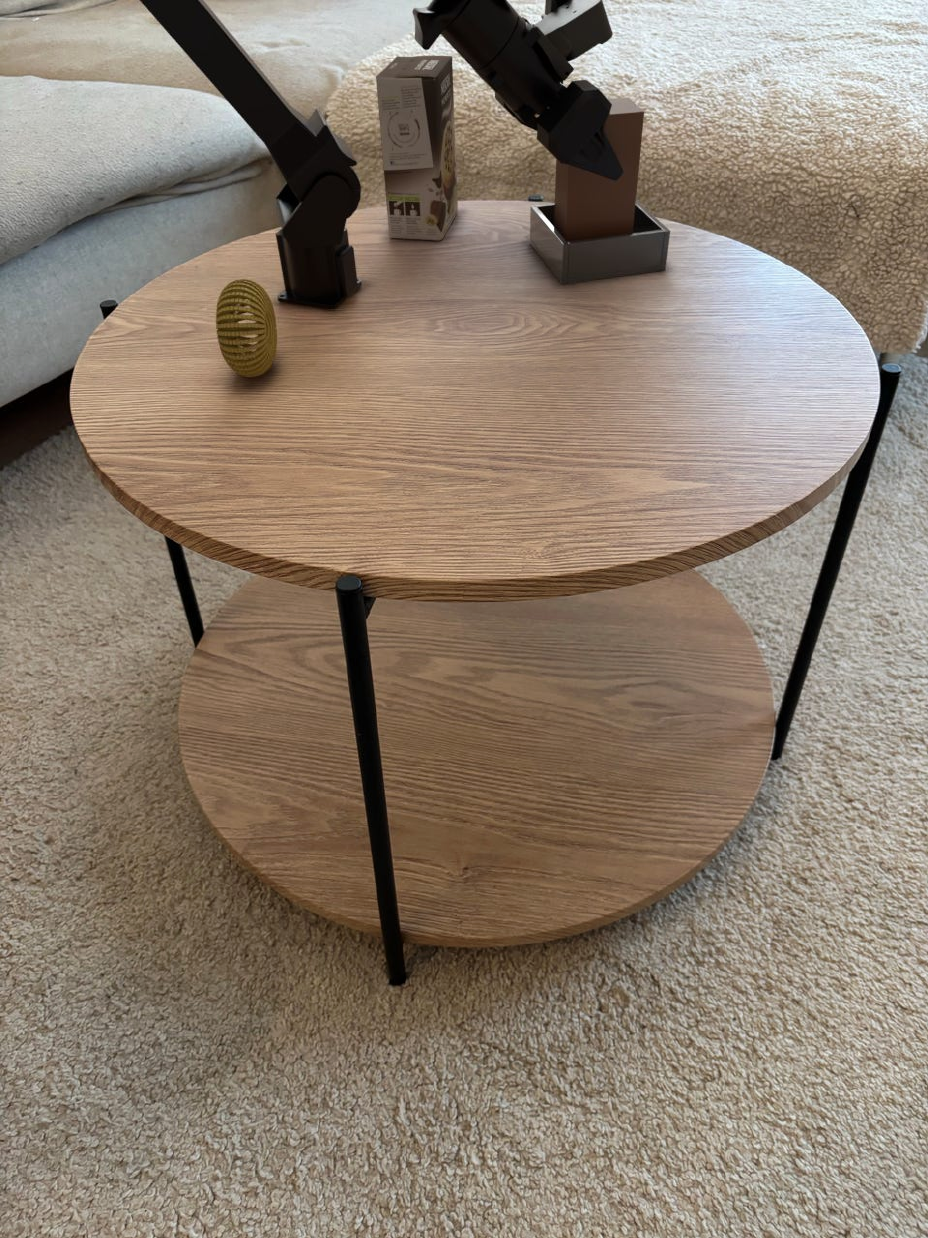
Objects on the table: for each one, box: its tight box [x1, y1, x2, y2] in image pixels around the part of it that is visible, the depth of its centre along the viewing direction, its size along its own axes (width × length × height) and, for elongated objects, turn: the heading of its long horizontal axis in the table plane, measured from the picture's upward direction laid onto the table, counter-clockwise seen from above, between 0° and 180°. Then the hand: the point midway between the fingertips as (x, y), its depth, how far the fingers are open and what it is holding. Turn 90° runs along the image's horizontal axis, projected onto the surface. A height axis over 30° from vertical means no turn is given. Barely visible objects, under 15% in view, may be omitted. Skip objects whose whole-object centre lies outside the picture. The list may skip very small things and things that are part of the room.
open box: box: [529, 199, 671, 285], centre depth 95 cm, size 11×11×4 cm
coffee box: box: [375, 55, 459, 242], centre depth 98 cm, size 9×6×16 cm
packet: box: [554, 97, 645, 242], centre depth 90 cm, size 7×5×14 cm
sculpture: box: [215, 278, 278, 378], centre depth 77 cm, size 8×4×8 cm, turn 179°
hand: (602, 161), depth 89 cm, fingers open, 9 cm apart
